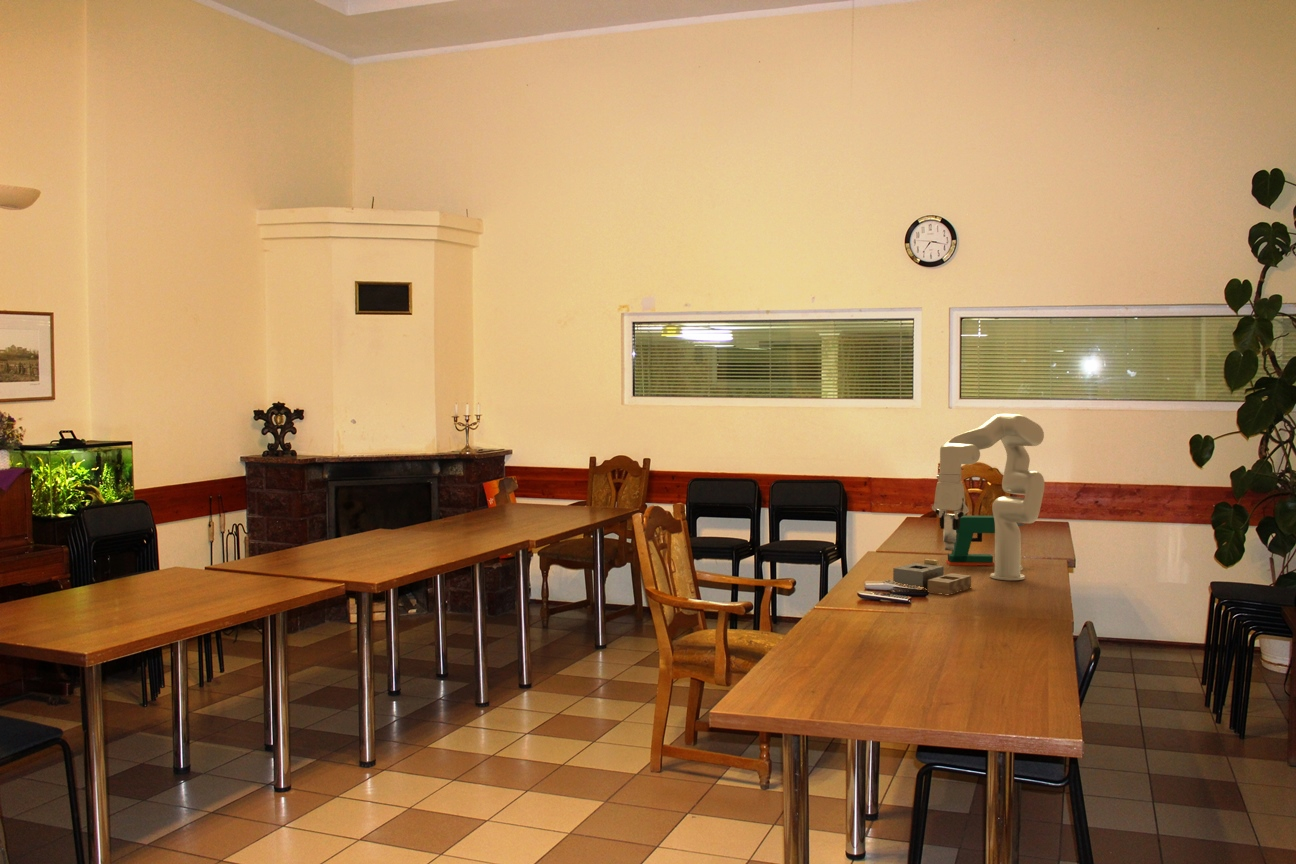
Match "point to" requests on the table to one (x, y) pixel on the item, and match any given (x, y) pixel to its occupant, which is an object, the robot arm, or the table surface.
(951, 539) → the cream post
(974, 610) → the table surface
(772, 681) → the table surface
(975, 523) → the power tool
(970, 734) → the table surface
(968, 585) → the block
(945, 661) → the table surface
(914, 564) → the socket block
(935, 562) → the drift key
